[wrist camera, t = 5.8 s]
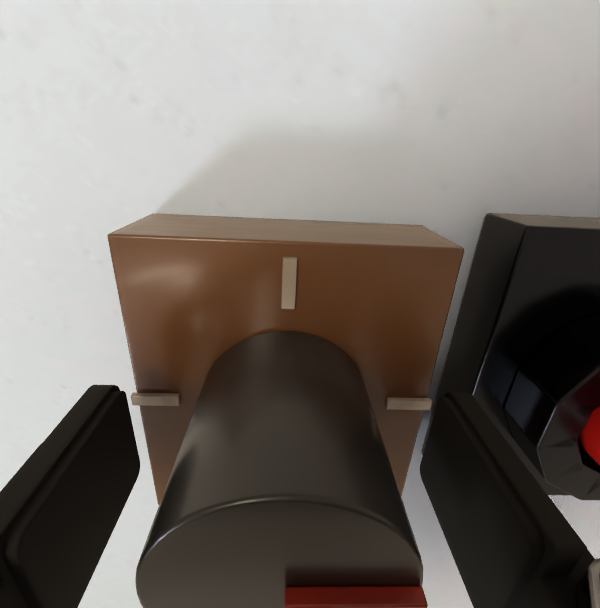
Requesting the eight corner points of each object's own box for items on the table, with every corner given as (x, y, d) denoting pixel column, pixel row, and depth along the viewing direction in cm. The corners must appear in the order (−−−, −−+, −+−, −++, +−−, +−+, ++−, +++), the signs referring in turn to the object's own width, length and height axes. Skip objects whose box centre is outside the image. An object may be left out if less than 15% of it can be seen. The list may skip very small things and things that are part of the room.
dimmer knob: (207, 458, 11) (147, 686, 6) (197, 327, 9) (98, 518, 4) (354, 459, 12) (401, 680, 7) (376, 332, 10) (466, 520, 5)
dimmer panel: (148, 213, 11) (98, 235, 8) (426, 224, 11) (473, 250, 8) (178, 441, 15) (153, 510, 12) (382, 443, 15) (403, 510, 13)
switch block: (485, 212, 11) (579, 242, 8) (736, 223, 12) (940, 257, 8) (420, 452, 16) (460, 542, 12) (603, 453, 16) (695, 541, 13)
